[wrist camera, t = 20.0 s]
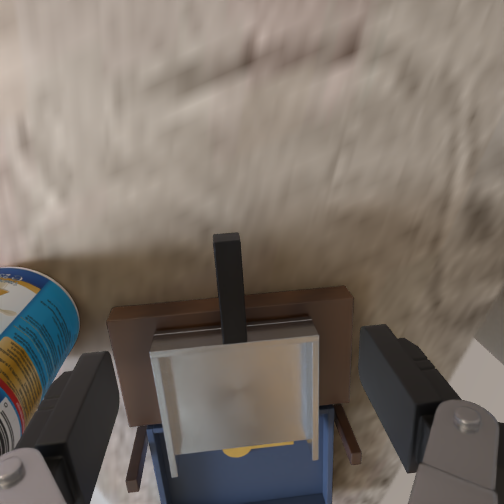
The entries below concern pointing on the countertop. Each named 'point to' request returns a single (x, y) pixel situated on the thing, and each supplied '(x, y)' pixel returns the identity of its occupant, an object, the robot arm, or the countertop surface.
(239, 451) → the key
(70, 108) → the countertop surface
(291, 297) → the stand
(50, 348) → the beverage bottle
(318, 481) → the tray
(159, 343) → the grey dustpan
